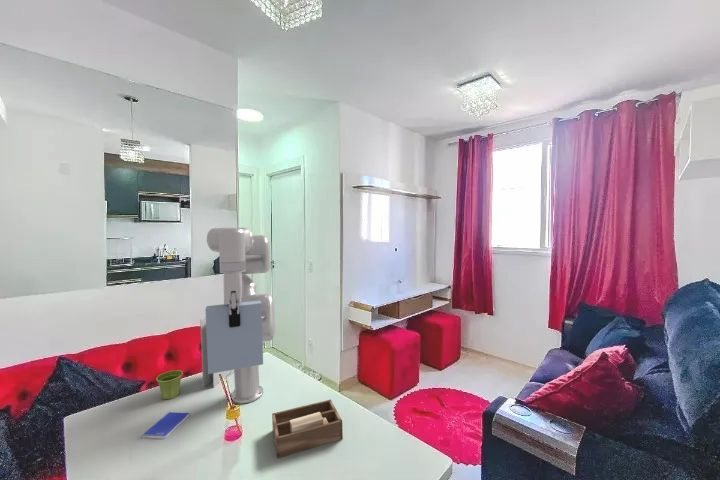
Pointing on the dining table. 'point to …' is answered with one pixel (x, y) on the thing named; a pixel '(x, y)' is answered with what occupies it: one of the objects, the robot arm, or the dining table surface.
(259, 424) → the dining table surface
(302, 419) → the offcut stack
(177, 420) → the hard drive
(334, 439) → the brown wooden open box
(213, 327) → the panel
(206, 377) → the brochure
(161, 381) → the plant pot
